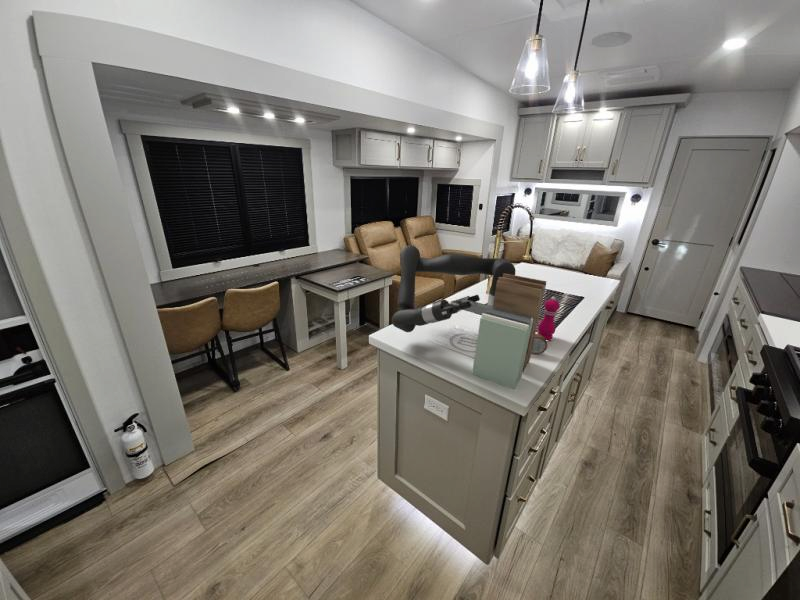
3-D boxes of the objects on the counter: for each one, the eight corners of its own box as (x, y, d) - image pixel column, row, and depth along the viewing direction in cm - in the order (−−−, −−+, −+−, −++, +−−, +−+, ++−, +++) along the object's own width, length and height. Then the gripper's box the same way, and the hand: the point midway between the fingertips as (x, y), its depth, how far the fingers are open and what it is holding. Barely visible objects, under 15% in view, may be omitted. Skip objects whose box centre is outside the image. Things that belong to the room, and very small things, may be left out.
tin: (544, 353, 131) (548, 335, 128) (545, 357, 128) (550, 338, 125) (506, 347, 135) (509, 329, 132) (506, 350, 132) (510, 332, 129)
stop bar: (462, 306, 115) (463, 298, 114) (530, 324, 103) (532, 315, 102) (458, 308, 113) (459, 301, 112) (528, 327, 101) (530, 318, 100)
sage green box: (480, 363, 121) (489, 307, 113) (521, 377, 114) (533, 318, 105) (472, 374, 114) (480, 314, 106) (514, 389, 106) (527, 327, 98)
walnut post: (491, 349, 131) (504, 272, 120) (529, 361, 124) (547, 280, 112) (484, 358, 124) (497, 277, 112) (523, 372, 117) (542, 286, 105)
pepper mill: (555, 337, 145) (565, 296, 138) (550, 343, 140) (560, 300, 132) (539, 332, 149) (548, 292, 142) (533, 337, 144) (542, 296, 137)
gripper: (423, 308, 114) (462, 295, 105) (441, 297, 126) (478, 285, 116) (431, 327, 115) (471, 316, 105) (448, 315, 126) (485, 304, 116)
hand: (474, 300), depth 110 cm, fingers open, 8 cm apart
